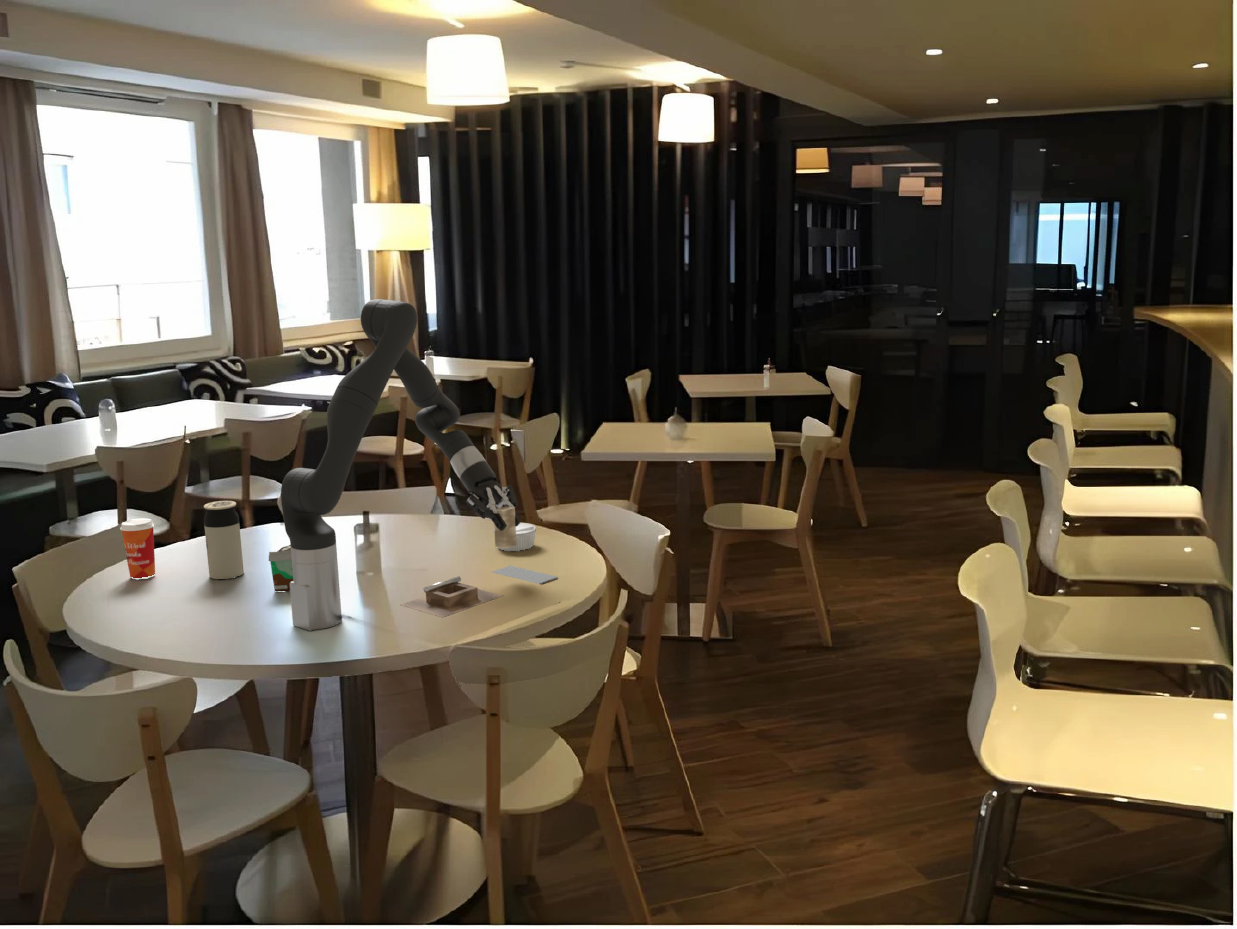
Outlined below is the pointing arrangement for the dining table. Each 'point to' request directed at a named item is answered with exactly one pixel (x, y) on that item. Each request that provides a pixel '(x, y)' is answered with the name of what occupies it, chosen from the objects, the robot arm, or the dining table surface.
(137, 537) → the paper cup
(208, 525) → the travel mug
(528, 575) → the rubber mat
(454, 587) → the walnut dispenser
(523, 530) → the ramekin
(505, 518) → the tan wooden block
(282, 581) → the food container
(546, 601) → the dining table surface
